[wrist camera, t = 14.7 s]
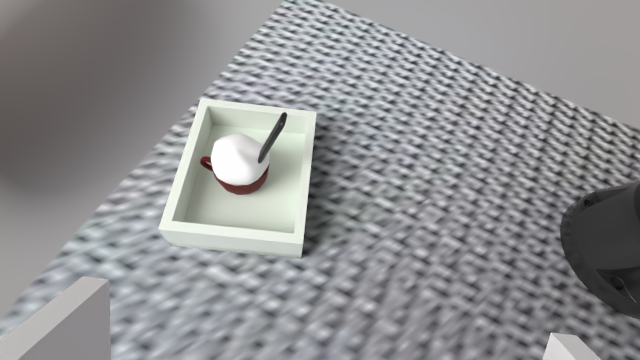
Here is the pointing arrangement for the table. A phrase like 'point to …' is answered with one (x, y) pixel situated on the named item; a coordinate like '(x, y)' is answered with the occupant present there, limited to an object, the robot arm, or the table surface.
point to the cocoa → (242, 160)
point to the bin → (250, 209)
